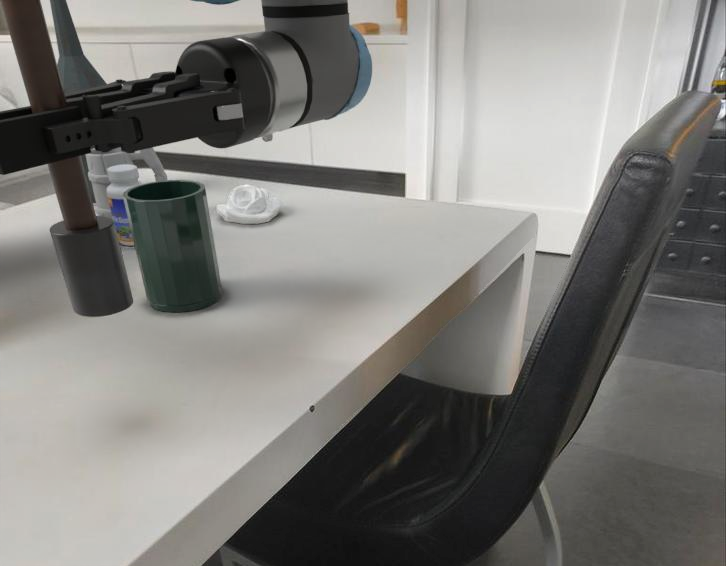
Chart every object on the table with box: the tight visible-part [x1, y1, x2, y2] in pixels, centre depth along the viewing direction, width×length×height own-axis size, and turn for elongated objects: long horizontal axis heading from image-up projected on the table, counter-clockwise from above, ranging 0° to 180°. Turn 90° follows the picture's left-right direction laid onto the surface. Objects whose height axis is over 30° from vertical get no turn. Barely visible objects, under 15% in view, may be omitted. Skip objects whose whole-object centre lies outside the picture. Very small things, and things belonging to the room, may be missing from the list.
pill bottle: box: [106, 164, 144, 247], centre depth 95 cm, size 5×5×10 cm
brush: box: [0, 0, 134, 318], centre depth 46 cm, size 4×4×20 cm
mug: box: [85, 147, 169, 220], centre depth 103 cm, size 8×12×12 cm, turn 95°
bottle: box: [49, 0, 108, 204], centre depth 110 cm, size 10×10×30 cm
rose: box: [215, 184, 283, 225], centre depth 104 cm, size 10×4×10 cm
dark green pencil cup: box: [123, 179, 223, 313], centre depth 77 cm, size 9×9×12 cm
